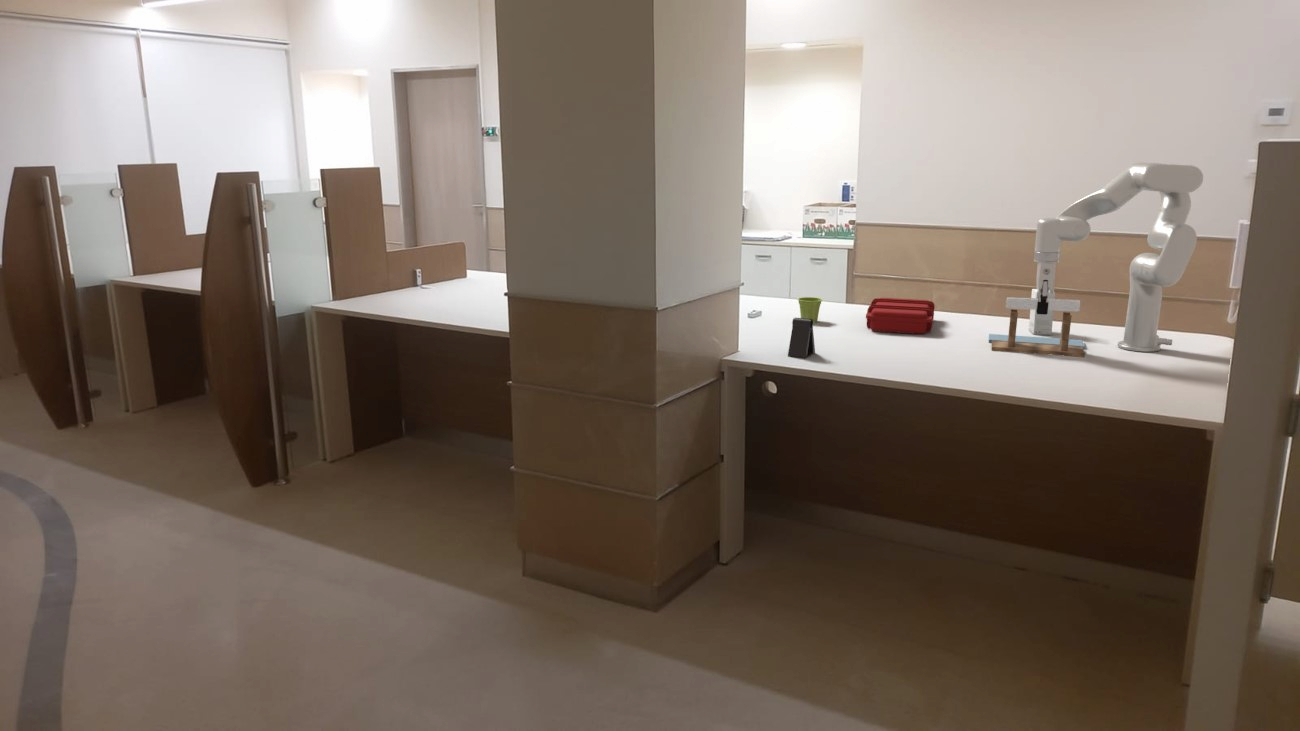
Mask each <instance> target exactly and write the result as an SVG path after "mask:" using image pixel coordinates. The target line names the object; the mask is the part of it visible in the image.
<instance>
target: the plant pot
mask: <svg viewBox="0 0 1300 731" xmlns="http://www.w3.org/2000/svg"><path fill="white" fill-rule="evenodd" d="M797 301H798V305H799V312H800V318H804V319H812V320H813V323H816V322H817V321H818V319H819V312H820V308H821V305H822V301H823V298H820V297H815V296H814V297H813V296H812V297H810V296H805V297H803V296H802V297H798V298H797Z"/></svg>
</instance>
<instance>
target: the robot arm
mask: <svg viewBox="0 0 1300 731" xmlns="http://www.w3.org/2000/svg"><path fill="white" fill-rule="evenodd" d="M1203 181H1204V175H1203V172H1202V170H1201V169H1200V168H1199V167H1197V166H1194V165H1189V164H1177V163H1176V164H1174V163H1173V164H1171V163H1170V164H1167V163H1159V162H1157V163H1156V162H1141V161H1140V162H1136V163H1135V162H1134V163H1132V164H1131V165H1129V166H1127V167H1126V169H1124V170H1123V171H1121V172H1120V173H1119V174H1117V175H1116V176H1115V177H1114V178H1112V180H1110V181H1109V182H1107V184H1105V185H1104V186H1103V187H1101V188H1100V189H1099V190H1097V191H1095V192H1092V193H1091V194H1088V195H1087V196H1085V197H1083V198H1081V199H1079V200H1077V201H1075V202H1074V203H1072V204H1071V205H1069V206H1068V207H1066V208H1065V209H1064V210H1063V211H1062V212H1060V213H1059V214H1057V216H1056V217H1055V218H1054V217H1046V218H1045V217H1044V218H1040V219H1039V220H1038V221H1037V223H1036V231H1035V232H1036V233H1035V241H1034V242H1035V244H1034V256H1033V262H1035V263H1037V266H1036V267H1037V268H1036V289H1037V292H1038V298H1039V302H1038V304H1037V310H1036V311H1037V314H1044V315H1047V313H1048V303H1049V302H1048V295H1049V291H1050V292H1051V293H1054V292H1055V280H1056V264H1057V263H1059V262H1060V258H1061V257H1060V255H1061V246H1062V241H1065V242H1074V243H1078V242H1081V241H1084V240H1086V239H1087V238H1088V237H1089V235H1090V234H1091V232H1092V231H1091V225H1090V224H1089V222H1088V221H1089V220H1091V219H1092V218H1095V217H1098V216H1102V215H1108V214H1111V213H1113V212H1116V211H1118V210H1119V209H1121V208H1122V207H1124V205H1125V204H1127V203H1129V201H1131V200H1132V199H1134V197H1135V196H1138V195H1139V193H1141V192H1143V191H1148V192H1149V191H1150V192H1158V193H1159V194H1160V200H1161V201H1160V205H1159V209H1158V212H1157V214H1156V216H1155V218H1154V221H1153V223H1152V225H1151V227H1150V230H1149V232H1148V234H1147V239H1146V241H1147V244H1148V246H1149V247H1151V248H1152V249H1154V250H1155V251H1159V252H1160V251H1161V252H1160V254H1159V253H1153V252H1143V253H1140V254H1138V255H1136V256H1135V257H1134V258H1133V259H1132V261H1131V262H1130V265H1129V294H1128V295H1129V296H1128V302H1127V310H1126V318H1125V324H1124V332H1123V334H1124V335H1123V340H1120V341H1118V342H1117V347H1118V348H1120V349H1123V350H1127V351H1132V352H1141V353H1142V352H1147V353H1153V352H1159V351H1160V350H1161V345H1165V346H1172V345H1173V339H1170V338H1163V337H1159V336H1158V328H1159V321H1160V316H1161V314H1160V313H1161V308H1162V307H1161V306H1162V300H1163V290H1162V287H1165V288H1167V287H1171V286H1174V285H1175V284H1177V283H1178V282H1179V281H1180V279H1181V278H1182V277H1183V274H1184V273H1185V271H1186V268H1187V266H1188V264H1189V261H1191V260H1190V259H1191V257H1192V255H1193V253H1194V251H1195V248H1196V246H1197V241H1198V239H1197V238H1198V237H1197V232H1196V230H1195V228H1193V227H1192V226H1191V225H1189V224H1187V223H1186V221H1187V219H1188V217H1189V216H1188V215H1190V210H1191V207H1192V202H1191V201H1192V199H1191V196H1190V195H1191V194H1190V193H1193V192H1195V191H1197V190H1198V189H1199V188H1200V187H1201V186H1202V184H1203Z"/></svg>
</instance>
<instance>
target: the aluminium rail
mask: <svg viewBox="0 0 1300 731" xmlns="http://www.w3.org/2000/svg"><path fill="white" fill-rule="evenodd" d="M1038 302H1039V298H1031V297H1016V296H1015V297H1013V296H1012V297H1011V296H1009V297H1007V296H1006V300H1005V309H1010V310H1011V309H1017V310H1030V309H1032V310H1037V304H1038ZM1048 302H1049V303H1048V310H1054V311H1055V312H1056V311H1057V312H1058V311H1060V312H1078V313H1079V312H1080V311H1081V309H1080V308H1081V300H1080V299H1066V298H1065V299H1063V298H1061V299H1060V298H1055V299H1048Z"/></svg>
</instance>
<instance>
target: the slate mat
mask: <svg viewBox="0 0 1300 731" xmlns="http://www.w3.org/2000/svg"><path fill="white" fill-rule="evenodd" d="M1008 335H1009V334H997V333H989V334H988V343H989V344H990V343H991V344H992V341H1005V342H1008ZM1015 342H1020V343H1034V344H1049V345H1060V338H1054V337H1043V336H1041V337H1040V336H1024V335H1016V337H1015ZM1068 346H1077V347H1083V350H1085V349H1086V346H1085V343H1084V341H1083V340H1082V339H1071V338H1069V343H1068Z"/></svg>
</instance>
